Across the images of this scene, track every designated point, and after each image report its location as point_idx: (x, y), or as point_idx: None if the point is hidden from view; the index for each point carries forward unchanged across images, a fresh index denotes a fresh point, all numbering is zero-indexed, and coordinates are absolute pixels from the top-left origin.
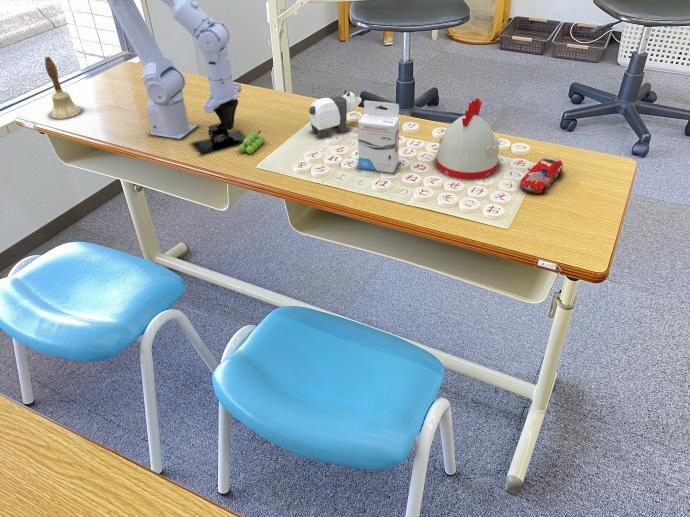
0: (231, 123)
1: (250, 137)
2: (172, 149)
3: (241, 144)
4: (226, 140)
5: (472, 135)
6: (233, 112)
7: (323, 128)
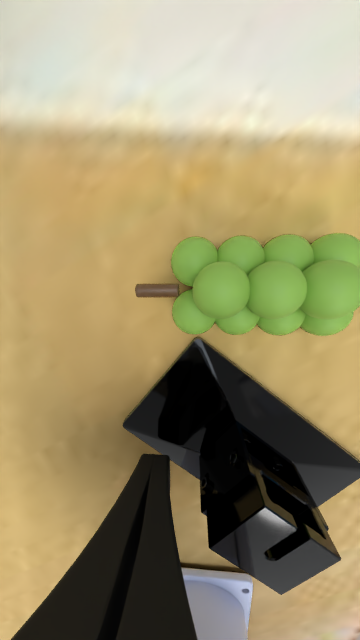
0: (158, 488)
1: (302, 280)
2: None
3: (332, 322)
4: (247, 428)
5: None
6: (101, 582)
7: None
